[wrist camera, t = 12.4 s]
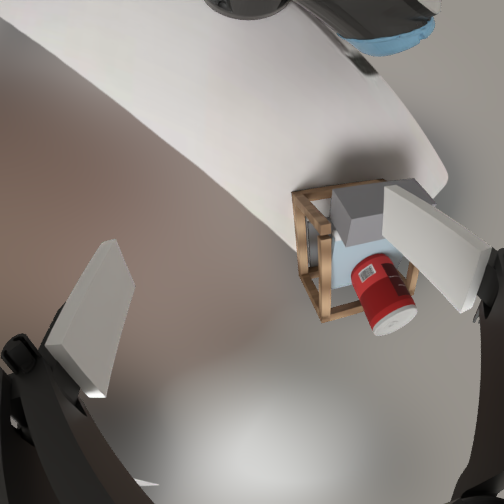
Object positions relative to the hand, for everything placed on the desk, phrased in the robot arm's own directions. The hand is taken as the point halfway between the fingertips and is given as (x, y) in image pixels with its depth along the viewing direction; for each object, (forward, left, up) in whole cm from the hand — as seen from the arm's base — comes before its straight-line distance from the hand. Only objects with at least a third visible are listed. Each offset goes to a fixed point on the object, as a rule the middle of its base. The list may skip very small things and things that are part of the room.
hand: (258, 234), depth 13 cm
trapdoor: (+16, +20, -25) cm, 35 cm away
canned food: (+22, +20, -23) cm, 38 cm away
